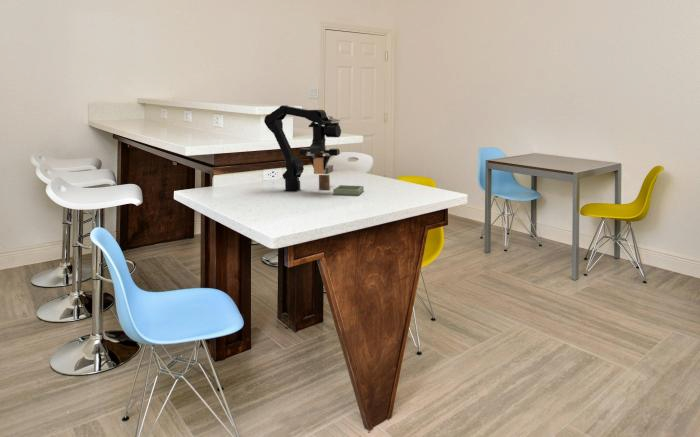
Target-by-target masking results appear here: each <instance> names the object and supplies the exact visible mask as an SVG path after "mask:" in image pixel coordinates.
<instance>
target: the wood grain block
mask: <svg viewBox="0 0 700 437" xmlns="http://www.w3.org/2000/svg"><path fill="white" fill-rule="evenodd" d="M330 182H331V181H330V174H318V190H320V191H330V188H331V185H330V184H331V183H330Z"/></svg>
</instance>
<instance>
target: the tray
mask: <svg viewBox="0 0 700 437" xmlns="http://www.w3.org/2000/svg"><path fill="white" fill-rule="evenodd" d="M362 193H364V185H347V184H346V185H342V184H341V185H338V186H336V187H335V188H334V189H333V194H332V195H333V196H352V197H353V196H356V197H359V196H361V194H362Z"/></svg>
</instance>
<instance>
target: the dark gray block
mask: <svg viewBox="0 0 700 437" xmlns="http://www.w3.org/2000/svg"><path fill="white" fill-rule="evenodd" d="M333 171H334V165H332V164H327V166H326V173H324V174H323V175H330V173H332V172H333Z"/></svg>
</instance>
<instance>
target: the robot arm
mask: <svg viewBox="0 0 700 437" xmlns="http://www.w3.org/2000/svg"><path fill="white" fill-rule="evenodd" d="M288 115H289V116H294V117H298V118H305V119H306V120H308V121H310V122H311V123H310V124H309V125H308V128H312V141H311V144H310V146H309V147H303V148H302V147H301V148H299V149H298V155H299V156H306V157H307V158H308V159H309V160H310V162H311V165H312V167H313V169H314V160H313V159H315V158H316V155H321V154H323V158H324V170H325V169H326V166H327V165H328V163H329V160H330V158H331V157H333V156H335V157H336V156H339V155H341V154H340V153H341V152H340V149H339V148H329V149H327V147H326V138H340V137H341V134H342V129H341V126H340V123H339V122H331V121H330V119H329V117H328V116H327V113H326V110H324V109H306V108H301V107H294V106H290V105H280V106H279V107H278V108H276V109H275V110H273V111H272V112H270V114H266V115H265V116H264V119H263V122H264V124H265V125H266V127H267V129H268V130H269V131H270V132H272V134H273V135H274V138H275V139H276V140H275V141H276V142H277V144H278V146H279V149H280V150H281V153H282V155H283V158H284V160H285V170H286V171H284V173H283V174H282V178H283V180H284V184H285V189H284V190H283V191H284V192H296V193H297V192H299V191H301V180H300V178H301V176H302V174H303V172H304V170H305V167H304V166H305V164H303V162H302V158H300V157H299V158H297V157H296V156H295V154H294V152H293V150H292V148H291V145H290V143H289V140H288V139H287V136H286V134H285V132H284V129H283V128H284V127H283V125H284V122H283V120H284V119H285V118H286V116H288Z"/></svg>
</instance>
